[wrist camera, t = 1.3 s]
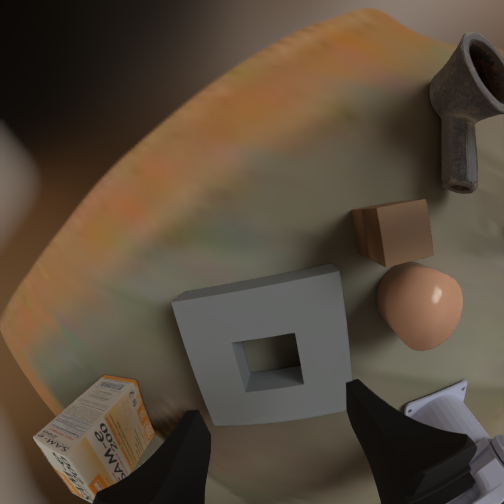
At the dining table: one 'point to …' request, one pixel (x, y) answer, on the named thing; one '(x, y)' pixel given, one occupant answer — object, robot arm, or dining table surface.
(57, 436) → the supplement box
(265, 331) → the block
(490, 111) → the pipe
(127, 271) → the dining table surface
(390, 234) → the square peg
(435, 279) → the peach egg-shaped blob
